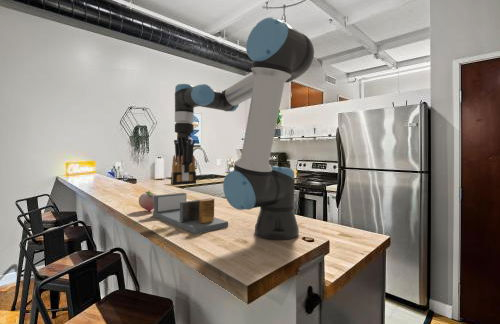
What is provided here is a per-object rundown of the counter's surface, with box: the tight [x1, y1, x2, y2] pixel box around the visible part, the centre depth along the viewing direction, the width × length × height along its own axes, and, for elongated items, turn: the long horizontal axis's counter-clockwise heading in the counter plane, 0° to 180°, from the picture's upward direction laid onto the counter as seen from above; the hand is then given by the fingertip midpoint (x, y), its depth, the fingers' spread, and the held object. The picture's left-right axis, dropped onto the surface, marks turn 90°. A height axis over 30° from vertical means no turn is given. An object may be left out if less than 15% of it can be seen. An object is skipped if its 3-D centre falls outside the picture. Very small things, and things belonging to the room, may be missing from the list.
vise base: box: [152, 192, 229, 235], centre depth 106 cm, size 35×14×9 cm, turn 43°
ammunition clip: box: [170, 154, 197, 186], centre depth 108 cm, size 11×2×12 cm, turn 133°
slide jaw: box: [180, 198, 215, 223], centre depth 98 cm, size 8×14×8 cm, turn 133°
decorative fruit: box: [138, 191, 157, 212], centre depth 122 cm, size 9×8×10 cm
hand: (183, 180), depth 108 cm, fingers closed on ammunition clip, 2 cm apart
